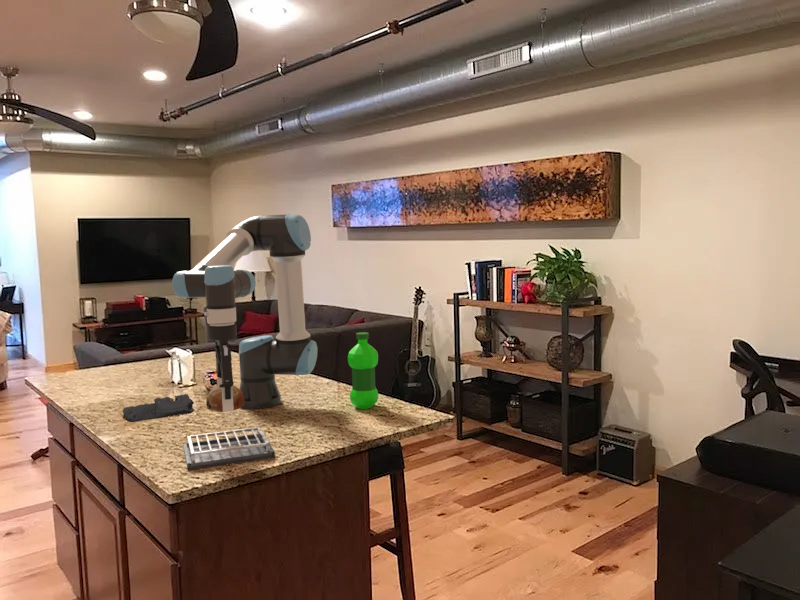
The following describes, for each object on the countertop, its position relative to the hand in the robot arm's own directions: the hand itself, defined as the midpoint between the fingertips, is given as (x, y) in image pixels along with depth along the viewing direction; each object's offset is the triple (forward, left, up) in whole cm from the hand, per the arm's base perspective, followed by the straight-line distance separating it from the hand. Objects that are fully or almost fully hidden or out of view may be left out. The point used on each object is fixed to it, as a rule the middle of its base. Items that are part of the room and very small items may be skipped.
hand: (225, 405), depth 179 cm
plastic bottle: (-29, +48, -13) cm, 58 cm away
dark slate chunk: (-52, -17, -14) cm, 56 cm away
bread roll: (0, 0, -1) cm, 1 cm away
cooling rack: (0, 0, -13) cm, 13 cm away
